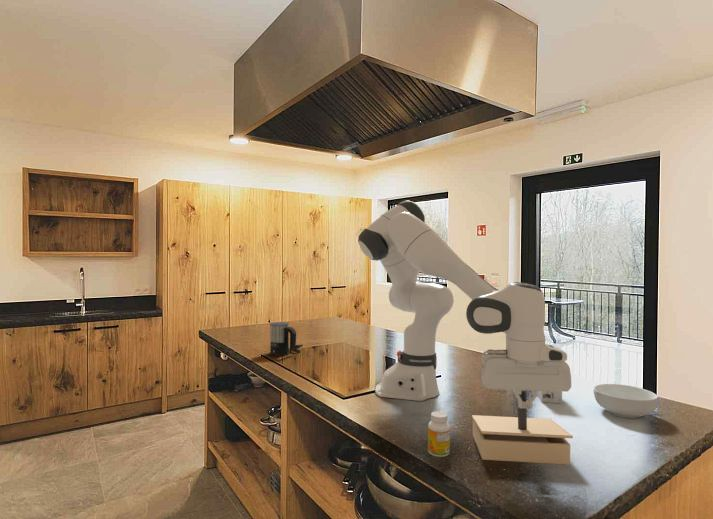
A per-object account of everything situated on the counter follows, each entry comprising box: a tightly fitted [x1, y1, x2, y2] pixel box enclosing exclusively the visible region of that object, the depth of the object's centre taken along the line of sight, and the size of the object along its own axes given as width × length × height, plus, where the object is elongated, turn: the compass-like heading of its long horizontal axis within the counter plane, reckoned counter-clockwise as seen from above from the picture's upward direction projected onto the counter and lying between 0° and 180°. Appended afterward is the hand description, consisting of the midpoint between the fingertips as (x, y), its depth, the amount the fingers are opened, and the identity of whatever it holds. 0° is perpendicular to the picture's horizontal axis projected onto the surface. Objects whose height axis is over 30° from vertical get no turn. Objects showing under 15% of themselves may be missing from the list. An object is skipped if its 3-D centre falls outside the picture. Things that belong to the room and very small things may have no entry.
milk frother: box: [269, 321, 304, 357], centre depth 211 cm, size 14×16×15 cm
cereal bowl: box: [593, 383, 659, 419], centre depth 135 cm, size 17×17×7 cm
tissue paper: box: [483, 434, 549, 443], centre depth 109 cm, size 16×11×2 cm
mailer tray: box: [472, 419, 571, 465], centre depth 109 cm, size 20×14×5 cm
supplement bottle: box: [427, 410, 451, 458], centre depth 107 cm, size 5×5×10 cm
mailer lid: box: [471, 390, 574, 439], centre depth 109 cm, size 21×15×10 cm
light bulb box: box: [536, 391, 563, 404], centre depth 149 cm, size 11×7×11 cm, turn 168°
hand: (525, 407), depth 104 cm, fingers closed, pressing on mailer lid
